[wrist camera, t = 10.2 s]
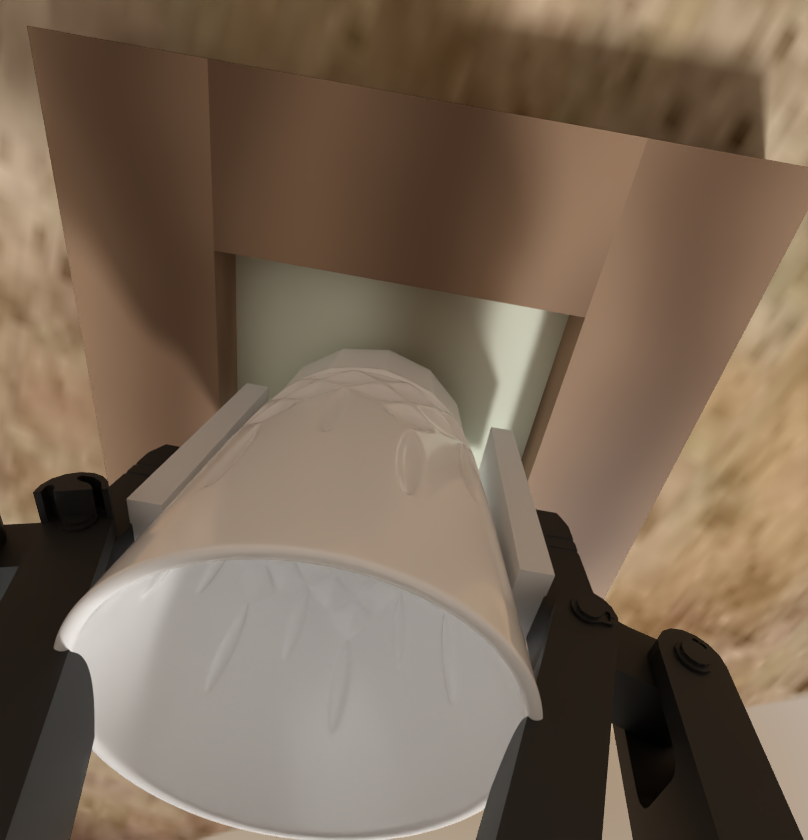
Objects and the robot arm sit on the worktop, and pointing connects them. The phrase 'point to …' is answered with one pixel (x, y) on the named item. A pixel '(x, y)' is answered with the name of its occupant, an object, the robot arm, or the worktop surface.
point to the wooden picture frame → (404, 262)
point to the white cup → (316, 620)
